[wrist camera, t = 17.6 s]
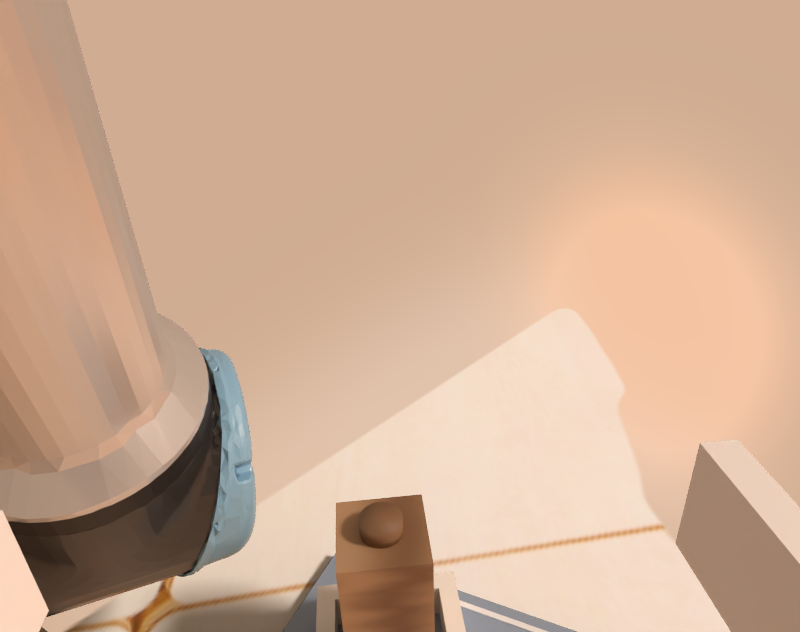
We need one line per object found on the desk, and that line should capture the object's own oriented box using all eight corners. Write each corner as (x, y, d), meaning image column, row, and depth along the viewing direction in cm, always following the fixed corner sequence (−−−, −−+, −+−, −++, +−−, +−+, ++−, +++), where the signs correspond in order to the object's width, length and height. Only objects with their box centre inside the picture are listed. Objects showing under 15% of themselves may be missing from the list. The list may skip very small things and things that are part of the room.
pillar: (353, 713, 36) (333, 559, 31) (352, 637, 41) (334, 489, 35) (436, 704, 37) (432, 549, 31) (426, 628, 41) (420, 481, 35)
